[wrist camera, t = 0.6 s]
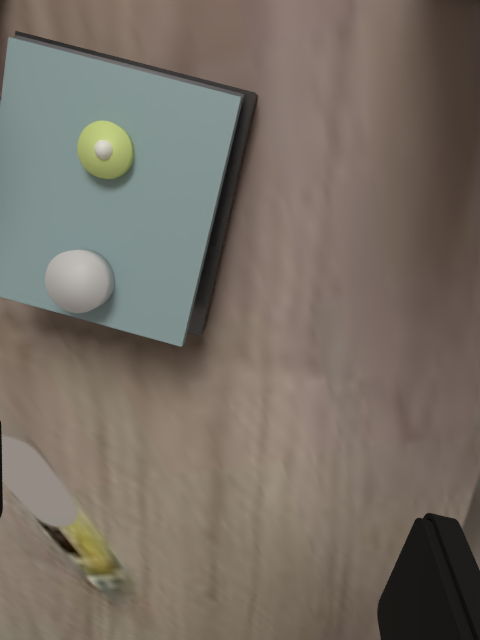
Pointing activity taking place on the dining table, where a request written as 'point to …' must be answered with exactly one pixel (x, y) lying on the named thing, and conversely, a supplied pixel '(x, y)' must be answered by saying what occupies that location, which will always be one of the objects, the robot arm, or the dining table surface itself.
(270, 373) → the dining table surface
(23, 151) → the plate
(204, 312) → the levelling base
